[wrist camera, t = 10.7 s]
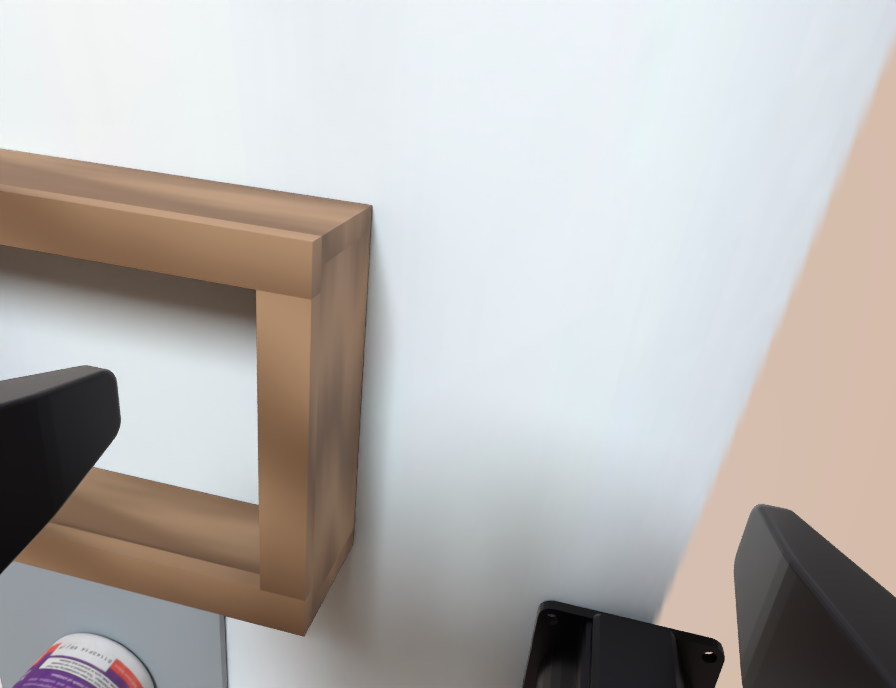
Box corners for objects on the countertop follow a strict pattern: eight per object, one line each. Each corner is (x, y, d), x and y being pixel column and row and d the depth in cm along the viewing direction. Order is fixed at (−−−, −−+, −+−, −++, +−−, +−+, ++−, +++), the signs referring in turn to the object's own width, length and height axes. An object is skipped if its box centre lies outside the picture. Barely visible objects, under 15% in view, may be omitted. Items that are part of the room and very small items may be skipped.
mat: (231, 784, 33) (227, 792, 33) (18, 720, 35) (11, 727, 35) (223, 599, 29) (218, 606, 28) (-24, 536, 30) (-32, 542, 30)
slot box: (352, 544, 26) (303, 636, 22) (-74, 444, 29) (-188, 508, 25) (371, 205, 21) (312, 241, 16) (-152, 125, 24) (-314, 139, 19)
